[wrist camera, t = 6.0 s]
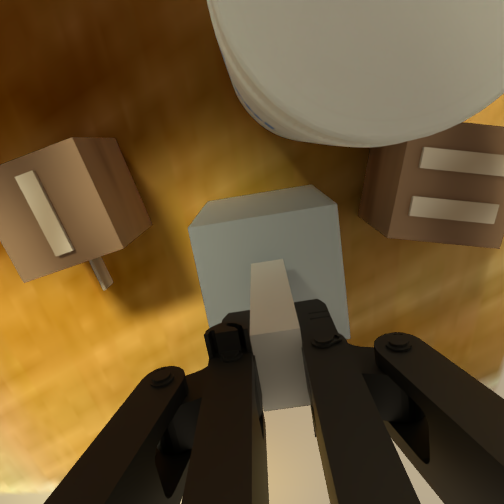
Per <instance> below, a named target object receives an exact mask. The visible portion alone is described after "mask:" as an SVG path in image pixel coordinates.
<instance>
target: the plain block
mask: <svg viewBox="0 0 504 504" xmlns="http://www.w3.org/2000/svg"><path fill="white" fill-rule="evenodd" d="M188 232H189V236H190V241H191V245H192V250H193V255H194V259H195V264H196V268H197V273H198V278H199V282H200V287H201V291H202V296H203V301H204V305H205V310H206V314H207V319H208V323H209V328H211V327H212V326H214V325H217V324H219V323H222V320H223V318H224V317H225V316H226V315H227V314H228V313H232V312H239V311H245V310H250V286H251V264H253V263H259V262H266V261H272V260H278V259H283V261H284V265H285V269H286V273H287V277H288V281H289V285H290V289H291V294H292V298H293V302H299V301H305V300H312V299H319V300H321V301H322V302H324V303H325V304H326V306H327V308H328V311H329V313H330V315H331V318H332V320H333V322H334V325H335V327H336V329H337V331H338V333H339V334H341V335H343V336H344V337H345V339H351V337H350V327H349V317H348V307H347V297H346V287H345V277H344V267H343V257H342V247H341V237H340V227H339V217H338V207H337V203H335V202H334V201H333V200H331V199H330V198H329V197H328V196H326V195H325V194H324V193H322V192H321V191H320V190H318V189H317V188H316V187H315V186H313V185H312V184H311V185H305V186H298V187H292V188H286V189H280V190H274V191H268V192H262V193H256V194H250V195H243V196H237V197H231V198H225V199H219V200H213V201H208V202H207V203H206V204H205V206H204V207H203V208H202V210H201V211H200V212H199V214H198V215H197V216H196V218H195V219H194V220H193V222H192V223H191V224H190V226H189V227H188Z"/></svg>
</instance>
